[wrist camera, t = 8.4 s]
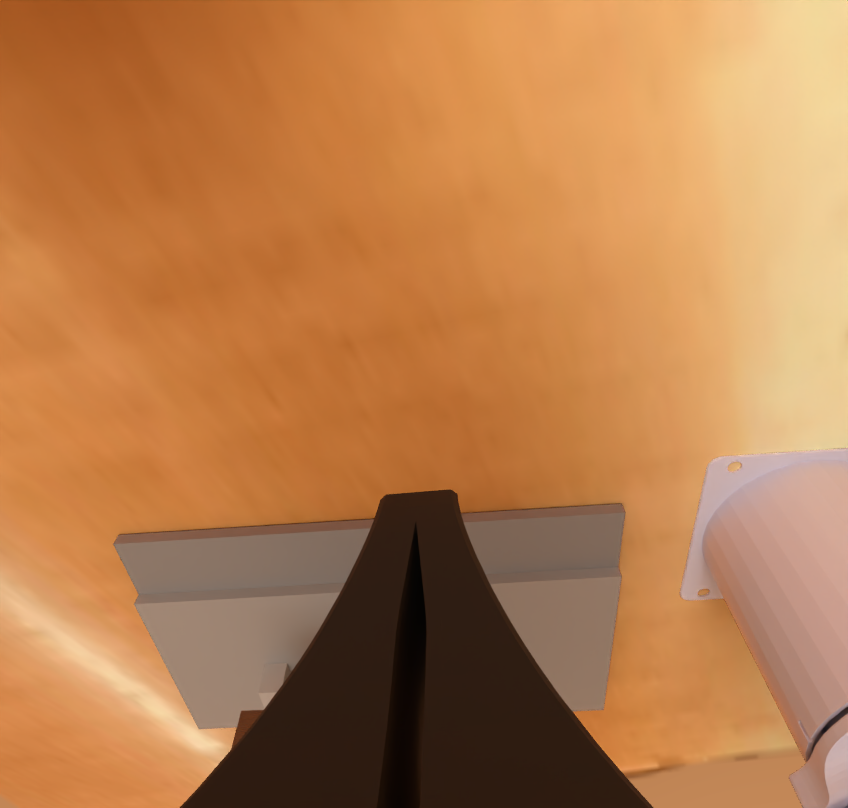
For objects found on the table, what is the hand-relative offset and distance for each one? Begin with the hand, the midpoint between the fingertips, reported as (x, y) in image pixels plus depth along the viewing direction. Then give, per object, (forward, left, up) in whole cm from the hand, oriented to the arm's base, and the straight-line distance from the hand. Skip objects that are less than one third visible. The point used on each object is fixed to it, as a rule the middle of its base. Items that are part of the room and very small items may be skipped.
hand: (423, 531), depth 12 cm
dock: (+3, +15, -9) cm, 18 cm away
